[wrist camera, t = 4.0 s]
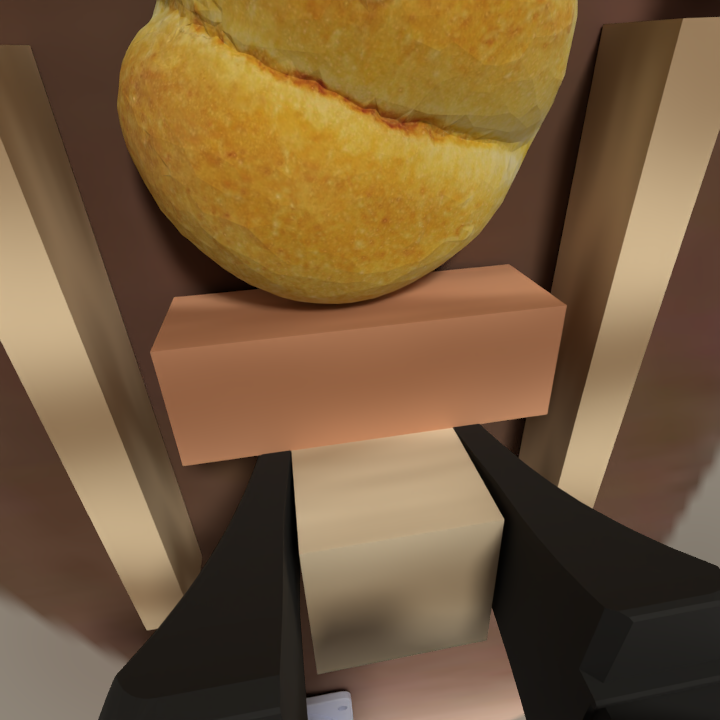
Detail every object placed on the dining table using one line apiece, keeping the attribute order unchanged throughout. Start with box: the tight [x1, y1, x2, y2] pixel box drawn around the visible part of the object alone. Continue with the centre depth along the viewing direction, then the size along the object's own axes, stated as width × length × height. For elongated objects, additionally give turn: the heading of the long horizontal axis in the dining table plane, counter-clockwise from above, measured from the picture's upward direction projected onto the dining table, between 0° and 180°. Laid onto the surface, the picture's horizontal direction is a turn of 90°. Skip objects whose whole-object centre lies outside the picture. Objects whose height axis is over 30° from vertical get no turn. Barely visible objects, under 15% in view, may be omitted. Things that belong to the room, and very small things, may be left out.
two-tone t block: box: [150, 264, 567, 674], centre depth 12 cm, size 7×9×6 cm
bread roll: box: [117, 0, 577, 304], centre depth 9 cm, size 8×9×4 cm
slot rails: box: [0, 17, 720, 630], centre depth 13 cm, size 16×15×2 cm
